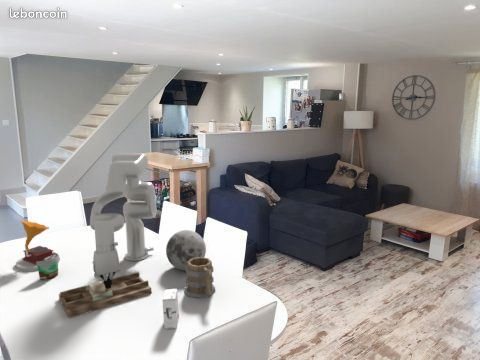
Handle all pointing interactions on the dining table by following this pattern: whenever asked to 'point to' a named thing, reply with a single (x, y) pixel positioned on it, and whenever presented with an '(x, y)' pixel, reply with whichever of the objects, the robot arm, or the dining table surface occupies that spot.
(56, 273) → the food container
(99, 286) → the block
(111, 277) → the robot arm
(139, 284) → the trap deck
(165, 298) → the ink box
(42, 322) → the dining table surface
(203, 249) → the moon model
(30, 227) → the gramophone
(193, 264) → the tankard
